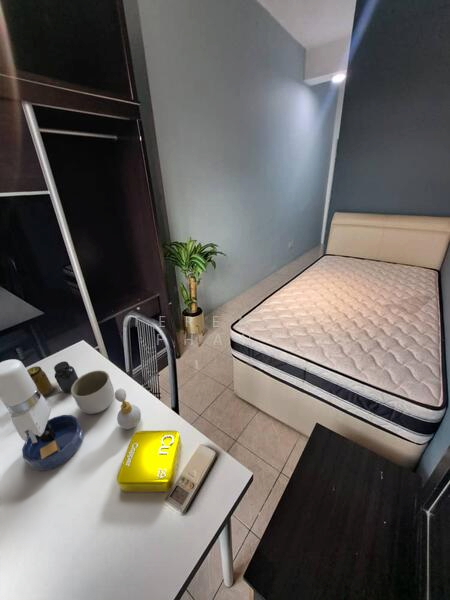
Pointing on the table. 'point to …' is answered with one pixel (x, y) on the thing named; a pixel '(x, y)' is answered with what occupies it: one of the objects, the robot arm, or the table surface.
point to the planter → (93, 392)
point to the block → (49, 450)
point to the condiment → (43, 382)
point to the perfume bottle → (127, 411)
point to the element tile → (150, 462)
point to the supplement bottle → (65, 376)
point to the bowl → (65, 437)
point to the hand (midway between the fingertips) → (49, 439)
